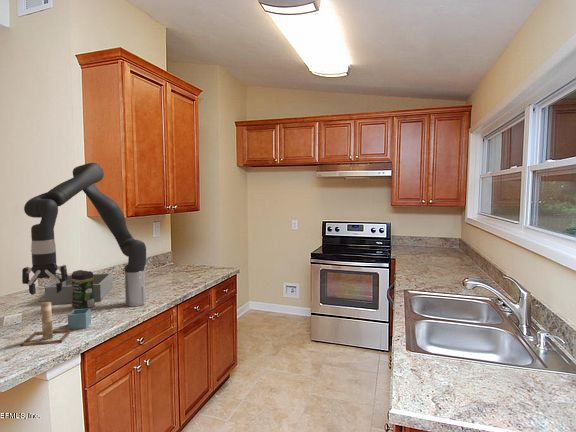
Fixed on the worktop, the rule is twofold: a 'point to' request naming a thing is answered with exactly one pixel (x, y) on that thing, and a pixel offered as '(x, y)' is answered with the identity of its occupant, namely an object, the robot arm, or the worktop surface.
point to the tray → (26, 342)
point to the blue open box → (79, 319)
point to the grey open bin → (100, 289)
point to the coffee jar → (82, 289)
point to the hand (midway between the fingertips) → (46, 293)
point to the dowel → (46, 320)
